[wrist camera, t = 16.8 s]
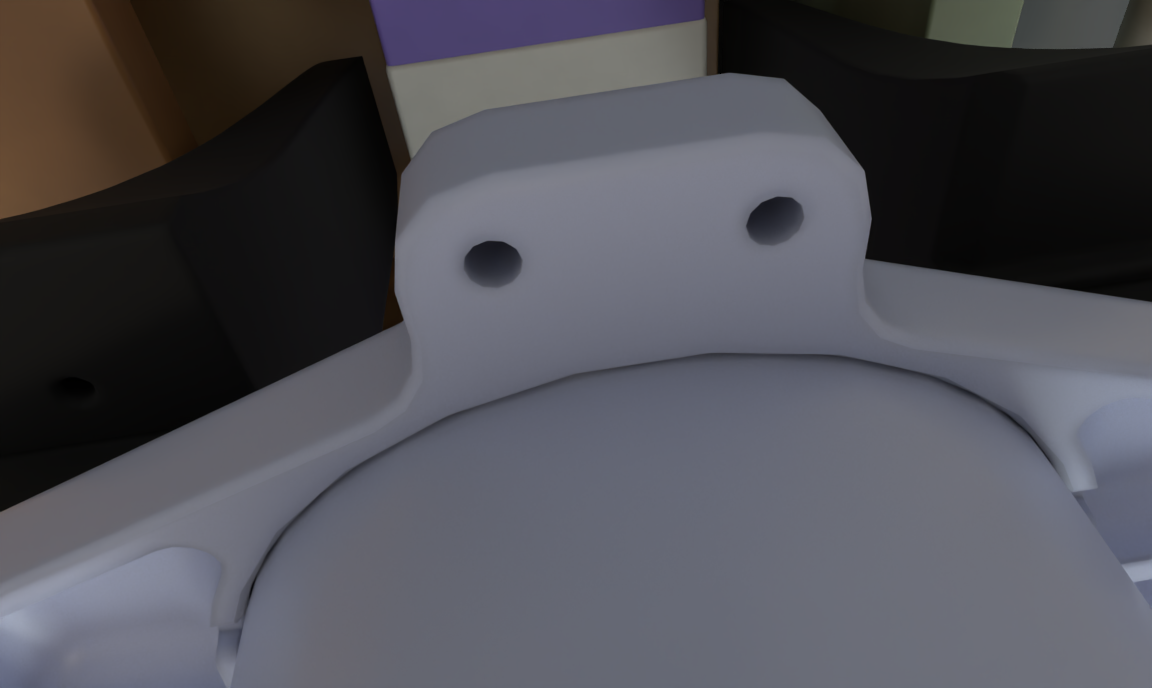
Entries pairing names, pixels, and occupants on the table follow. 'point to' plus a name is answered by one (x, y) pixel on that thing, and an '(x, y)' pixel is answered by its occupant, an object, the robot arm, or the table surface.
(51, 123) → the cabinet
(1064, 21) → the table surface
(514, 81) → the purple block cream band
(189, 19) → the drawer
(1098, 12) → the table surface
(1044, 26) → the table surface
